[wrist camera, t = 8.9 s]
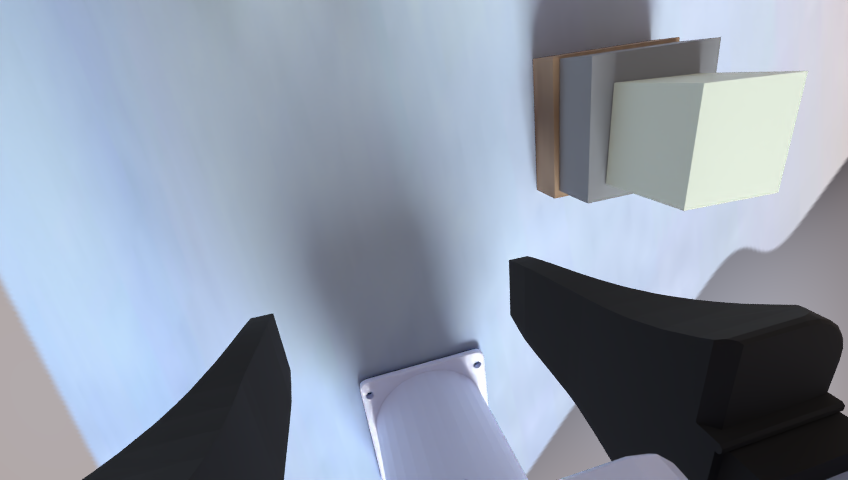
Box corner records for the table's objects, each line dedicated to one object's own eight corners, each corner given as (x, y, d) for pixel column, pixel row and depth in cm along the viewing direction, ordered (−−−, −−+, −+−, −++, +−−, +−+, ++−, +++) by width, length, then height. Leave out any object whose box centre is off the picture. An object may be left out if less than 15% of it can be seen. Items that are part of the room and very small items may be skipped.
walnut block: (635, 165, 26) (666, 173, 23) (532, 187, 24) (554, 198, 22) (643, 41, 23) (679, 37, 21) (527, 59, 22) (552, 57, 20)
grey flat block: (663, 168, 23) (701, 178, 21) (559, 190, 22) (587, 203, 20) (676, 41, 21) (721, 37, 19) (559, 58, 20) (592, 56, 17)
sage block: (685, 170, 21) (778, 192, 17) (606, 183, 20) (684, 210, 16) (700, 73, 19) (807, 71, 15) (614, 82, 18) (703, 83, 14)
